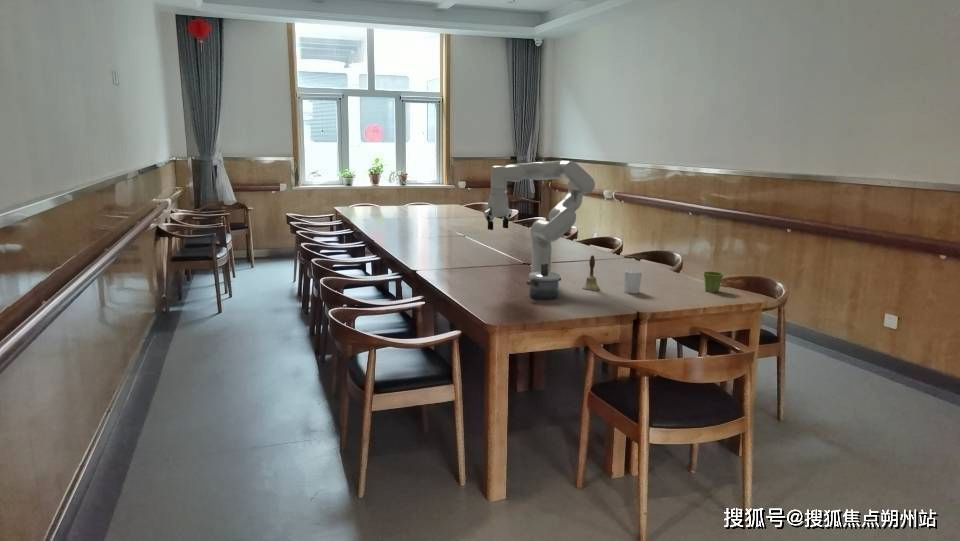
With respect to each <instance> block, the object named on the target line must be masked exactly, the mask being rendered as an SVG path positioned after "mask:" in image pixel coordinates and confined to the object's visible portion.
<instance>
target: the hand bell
mask: <svg viewBox="0 0 960 541" xmlns="http://www.w3.org/2000/svg"><path fill="white" fill-rule="evenodd" d="M595 264H596V259H595V255H591V256H590V258H589V270H590V271H589V276H587V277H586V280H585V283H584V285H583V286H582V289H583V288H584V289H583V290H586V289H588V290H587V291H598V290H597V289H599V290H601V287H600V286H599V285H598V283H597V277H596V276H594V268H595Z"/></svg>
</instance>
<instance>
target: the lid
mask: <svg viewBox="0 0 960 541" xmlns="http://www.w3.org/2000/svg"><path fill="white" fill-rule="evenodd" d="M528 278H529V279H530V278H531V279H536V280H557V279H559V278H561V275H560V273H557V272H552V271H551V272H548V264H546V263H542V264H541V272H533V273H531V272H530V273H529V274H528Z"/></svg>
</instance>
